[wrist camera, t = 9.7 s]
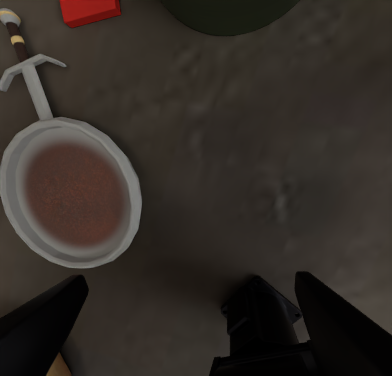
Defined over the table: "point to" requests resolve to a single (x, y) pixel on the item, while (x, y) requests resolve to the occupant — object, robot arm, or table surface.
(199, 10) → the cooking pot
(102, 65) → the table surface
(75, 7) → the spatula
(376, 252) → the table surface
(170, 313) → the table surface
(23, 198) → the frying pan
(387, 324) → the table surface
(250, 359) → the robot arm
